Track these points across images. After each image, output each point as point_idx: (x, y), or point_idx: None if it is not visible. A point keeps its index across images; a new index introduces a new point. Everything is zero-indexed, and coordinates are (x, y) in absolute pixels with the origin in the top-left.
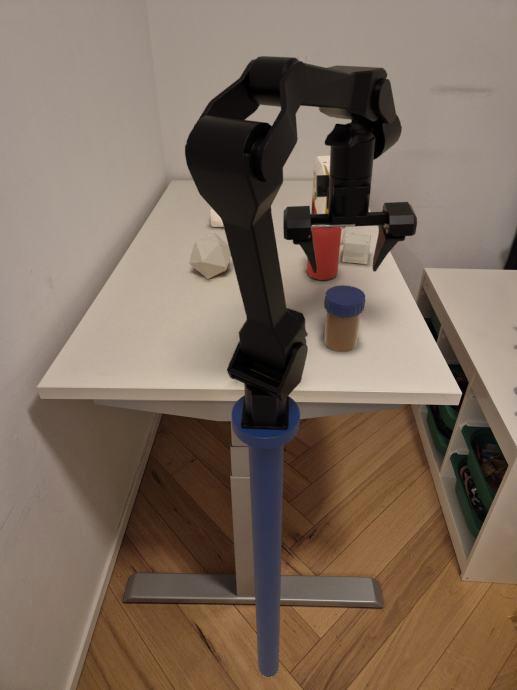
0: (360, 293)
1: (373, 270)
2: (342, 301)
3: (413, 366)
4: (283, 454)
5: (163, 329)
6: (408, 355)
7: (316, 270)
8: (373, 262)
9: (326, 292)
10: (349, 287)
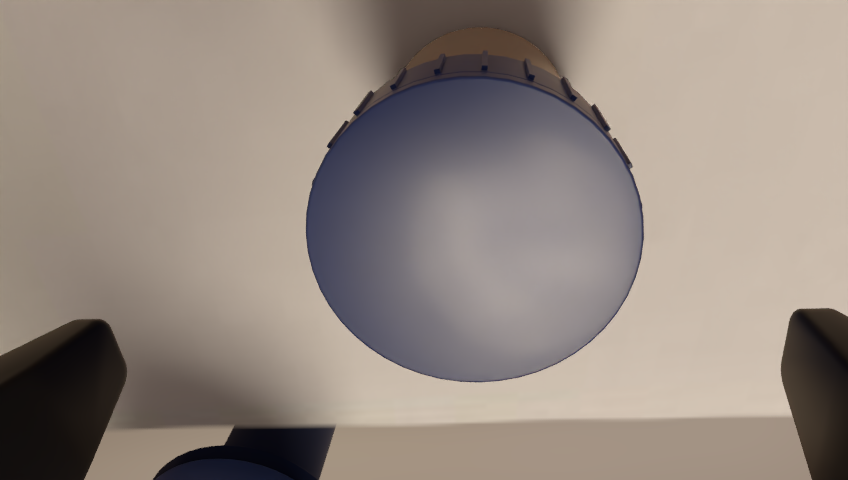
0: (605, 215)
1: (786, 388)
2: (446, 341)
3: (823, 274)
4: (331, 432)
5: None
6: (829, 194)
7: (109, 416)
8: (830, 411)
9: (311, 220)
10: (514, 114)
